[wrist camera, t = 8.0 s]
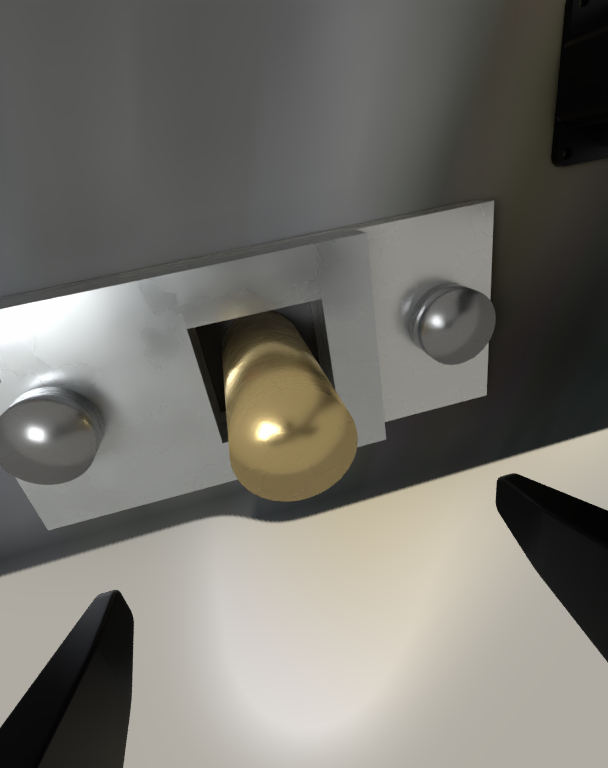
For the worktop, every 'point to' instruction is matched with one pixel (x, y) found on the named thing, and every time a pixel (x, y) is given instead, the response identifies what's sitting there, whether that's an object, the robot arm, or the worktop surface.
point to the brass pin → (282, 412)
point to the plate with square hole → (188, 366)
